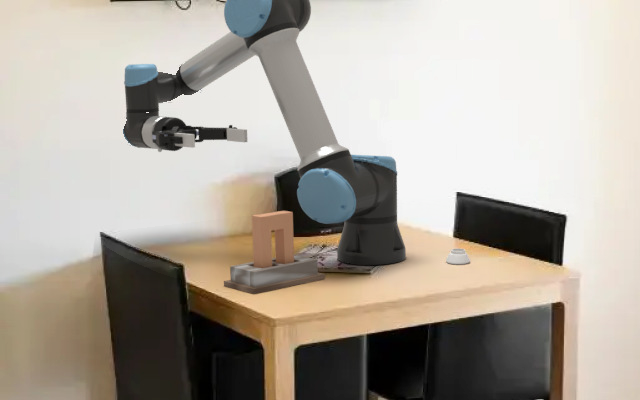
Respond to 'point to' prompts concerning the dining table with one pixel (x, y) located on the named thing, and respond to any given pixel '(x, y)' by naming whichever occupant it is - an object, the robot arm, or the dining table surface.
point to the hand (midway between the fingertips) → (220, 138)
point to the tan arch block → (263, 242)
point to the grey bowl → (458, 257)
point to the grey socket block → (273, 275)
